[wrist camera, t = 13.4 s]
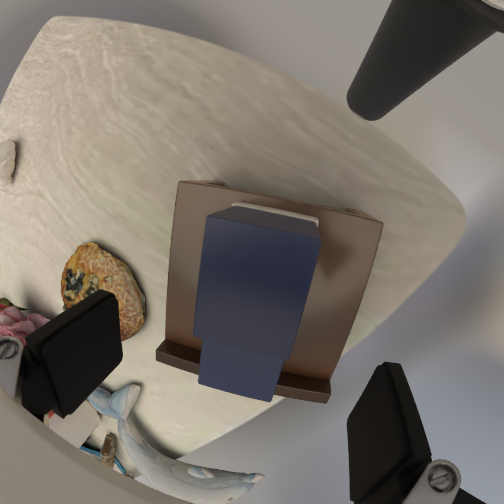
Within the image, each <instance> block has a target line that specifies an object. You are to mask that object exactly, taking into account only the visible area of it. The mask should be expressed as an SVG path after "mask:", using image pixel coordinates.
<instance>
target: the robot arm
mask: <svg viewBox="0 0 504 504" xmlns="http://www.w3.org/2000/svg"><path fill="white" fill-rule="evenodd" d="M481 1H482V2H484V3H486V4H487V5H489V6H491V7H493V8H496V9H498V10H502V11H504V0H481ZM25 341H26V345H25V346H24V347H23V344H22V342H21V341H20V340H19V339H18V338H16V337H14V336H3V337H0V504H194V503H191V502H188V501H185V500H182V499H179V498H176V497H173V496H171V495H168V494H166V493H163V492H161V491H158V490H155V489H153V488H151V487H149V486H146V485H144V484H142V483H140V482H138V481H135V480H133V479H131V478H129V477H127V476H125V475H123V474H121V473H119V472H117V471H115V470H114V469H112V468H110V467H108V466H106V465H105V464H103V463H101V462H99V461H98V460H96V459H94V458H93V457H91V456H89V455H88V454H86V453H84V452H83V451H81V450H80V449H78V448H77V447H75V446H74V445H72V444H71V443H69V442H68V441H66V440H65V439H63V438H62V437H61V436H59V435H58V434H57V433H55V432H54V431H53V430H51V429H50V428H49V412H50V411H51V410H52V411H53V412H54V413H55V414H56V415H58V416H59V417H61V418H62V419H64V418H65V417H66V416H67V415H71V414H73V413H74V412H75V411H76V410H77V408H78V407H79V406H80V405H81V404H82V403H83V402H84V401H85V400H86V399H87V398H88V397H89V396H90V394H91V393H92V392H93V391H94V390H95V389H96V388H97V387H98V386H99V385H100V384H101V383H102V382H103V381H104V380H105V379H106V377H107V376H108V375H109V374H110V373H111V372H112V371H113V370H114V369H115V368H116V367H117V366H118V365H119V364H120V362H121V361H122V358H123V351H122V342H121V331H120V318H119V303H118V300H117V299H116V296H115V294H113V293H111V292H109V291H106V290H103V289H99V290H97V291H96V292H94V293H93V294H91V295H89V296H88V297H86V298H84V299H83V300H81V301H80V302H78V303H76V304H75V305H73V306H72V307H70V308H69V309H67V310H65V311H64V312H62V313H61V314H59V315H58V316H56V317H55V318H53V319H52V320H50V321H49V322H47V323H45V324H44V325H42V326H41V327H39V328H38V329H36V330H35V331H33V332H32V333H31V334H29V335H28V336H26V337H25ZM347 433H348V450H349V451H348V452H349V475H350V500H351V501H354V504H486V503H484V502H482V501H481V500H479V499H477V498H476V497H474V496H472V495H471V494H469V493H468V492H466V491H464V490H462V489H461V488H459V487H460V484H461V475H460V472H459V470H458V468H457V467H456V466H455V465H454V464H453V463H451V462H449V461H447V460H441V459H439V460H435V461H433V462H432V459H431V455H432V454H431V451H430V447H429V444H428V441H427V437H426V434H425V431H424V427H423V424H422V421H421V418H420V415H419V412H418V409H417V406H416V404H415V401H414V398H413V395H412V392H411V390H410V387H409V384H408V382H407V379H406V376H405V374H404V371H403V369H402V366H401V364H399V363H391V362H384V363H383V364H382V365H378V366H377V367H376V369H375V371H374V373H373V375H372V377H371V379H370V380H369V382H368V384H367V386H366V388H365V390H364V391H363V393H362V395H361V397H360V398H359V400H358V402H357V403H356V405H355V407H354V409H353V410H352V412H351V413H350V415H349V417H348V420H347Z"/></svg>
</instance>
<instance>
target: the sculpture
mask: <svg viewBox="0 0 504 504" xmlns="http://www.w3.org/2000/svg"><path fill="white" fill-rule="evenodd" d="M140 389H141V388H140V387H139V386H138V385H134V384H131V385H127V386H126V387H124V388H122V389H120V390H118V391H116V392H114V393H113V394H112V395H111V394H110V393H109V392H108V391H106V390H104V389H102V388H99V387H97V388H96V389H95V390H94V391H93V392H92V393H91V394H90V396H89V397H88V398H87V399H88V400H89V402H90V403H91V405H92V406H93V407H94V408H95V409H96V410H97V411H99V412H100V413H102V414H104V415H107V416H109V417H112V418H114V419H118V431H119V434H120V437H121V440H122V442H123V445H124V447H125V449H126V451H127V453H128V455H129V457H130V458H131V460H132V461H133V463H134V464H135V466H136V467H137V469H138V470H139V471H140V473H141V474H142V475H143V476H144V477H145V479H146V480H147V481H148V482H149V483H150V484H151V485H152V486H153V487H154V488H155V489H156V490H158V491H161V492H163V493H166V494H168V495H171V496H173V497H176V498H179V499H182V500H185V501H188V502H191V503H194V504H228V503H231V502H233V501H235V500H237V499H239V498H240V497H242V496H243V495H244V494H246V493H247V492H248V491H249V490H250V489H251V488H252V487H253V485H254V482H255V481H258V480H260V479H262V478H264V477H265V475H263V474H260V473H252V474H246V473H236V472H229V471H224V470H218V469H211V468H206V467H200V466H195V465H191V464H187V463H184V462H180V461H177V460H174V459H171V458H169V457H166V456H164V455H162V454H160V453H159V452H158V451H156V450H155V449H153V448H152V447H150V446H149V445H148V444H147V442H146V441H145V440H144V439H143V438H142V437H141V435H140V434H139V433H138V431H137V430H136V427H135V425H134V424H133V422H132V421H131V420H130V419H128V418H127V416H128V414H129V413H130V411H131V409H132V407H133V406H134V403H135V401H136V400H137V398H138V396H139V393H140Z"/></svg>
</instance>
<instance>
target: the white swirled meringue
mask: <svg viewBox="0 0 504 504" xmlns="http://www.w3.org/2000/svg"><path fill="white" fill-rule="evenodd" d="M15 155H16V150H15V144H14V142H13V141H12V140H10V139H7V140H5V141H3V142H1V143H0V185H1V186H2V187H5V186H7V185H8V184H10V183H11V182H12V177H11V176H10V175H11V174H12V173H13V171H14V166H15V161H14V160H15Z"/></svg>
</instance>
